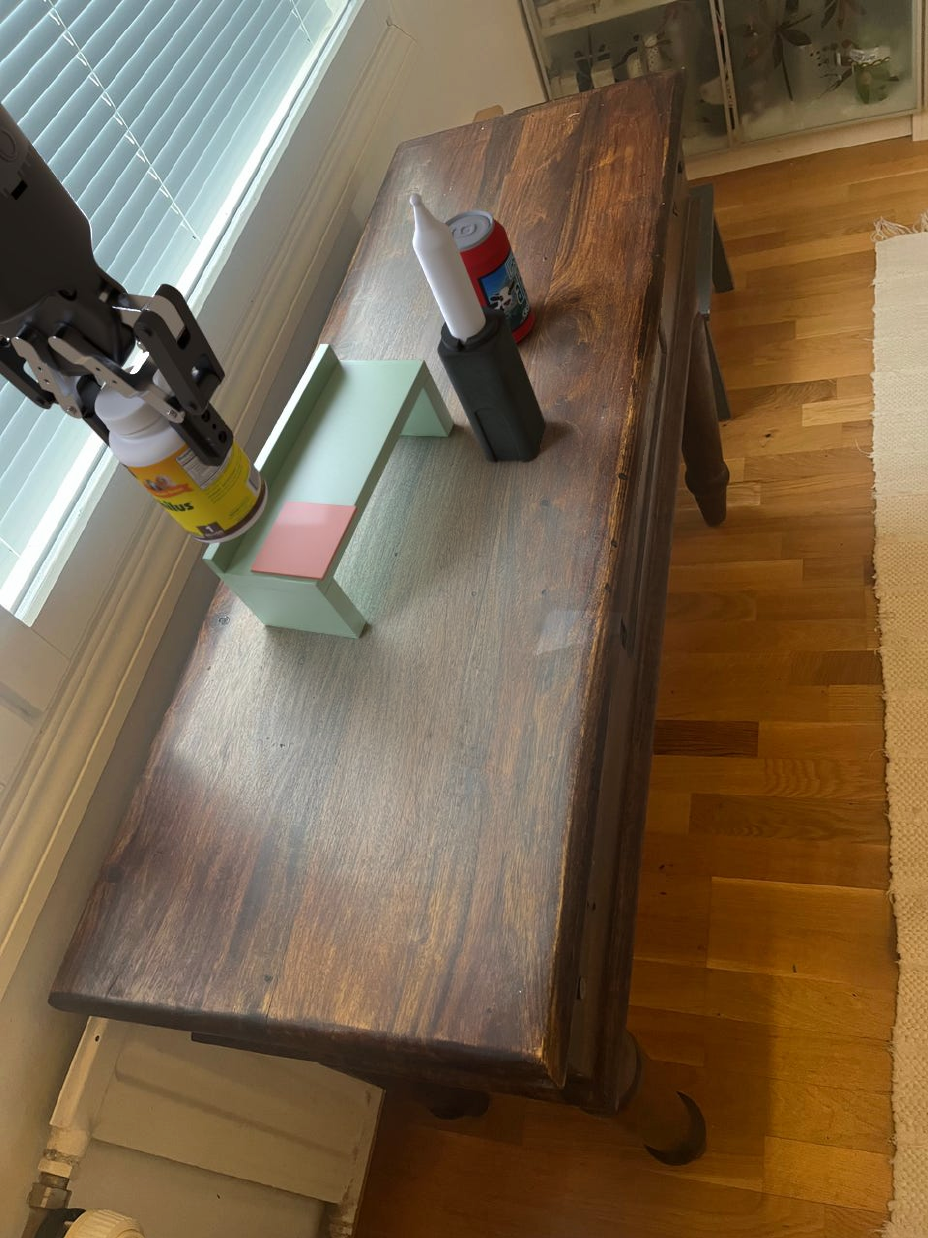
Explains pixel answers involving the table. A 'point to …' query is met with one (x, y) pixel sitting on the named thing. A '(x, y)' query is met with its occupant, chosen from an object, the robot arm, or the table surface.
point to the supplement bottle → (182, 469)
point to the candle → (478, 350)
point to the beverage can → (492, 267)
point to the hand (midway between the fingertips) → (178, 450)
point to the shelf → (324, 486)
